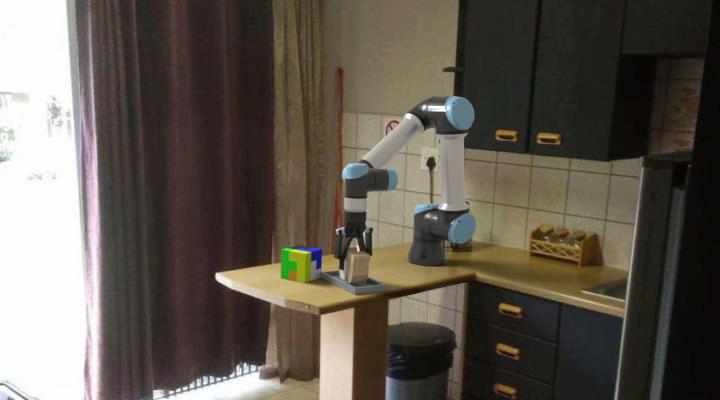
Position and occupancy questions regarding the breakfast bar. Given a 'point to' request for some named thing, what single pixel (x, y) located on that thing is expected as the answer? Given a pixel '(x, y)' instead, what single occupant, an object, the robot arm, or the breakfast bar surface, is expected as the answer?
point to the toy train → (356, 265)
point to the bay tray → (354, 288)
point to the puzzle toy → (301, 263)
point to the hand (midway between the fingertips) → (352, 277)
